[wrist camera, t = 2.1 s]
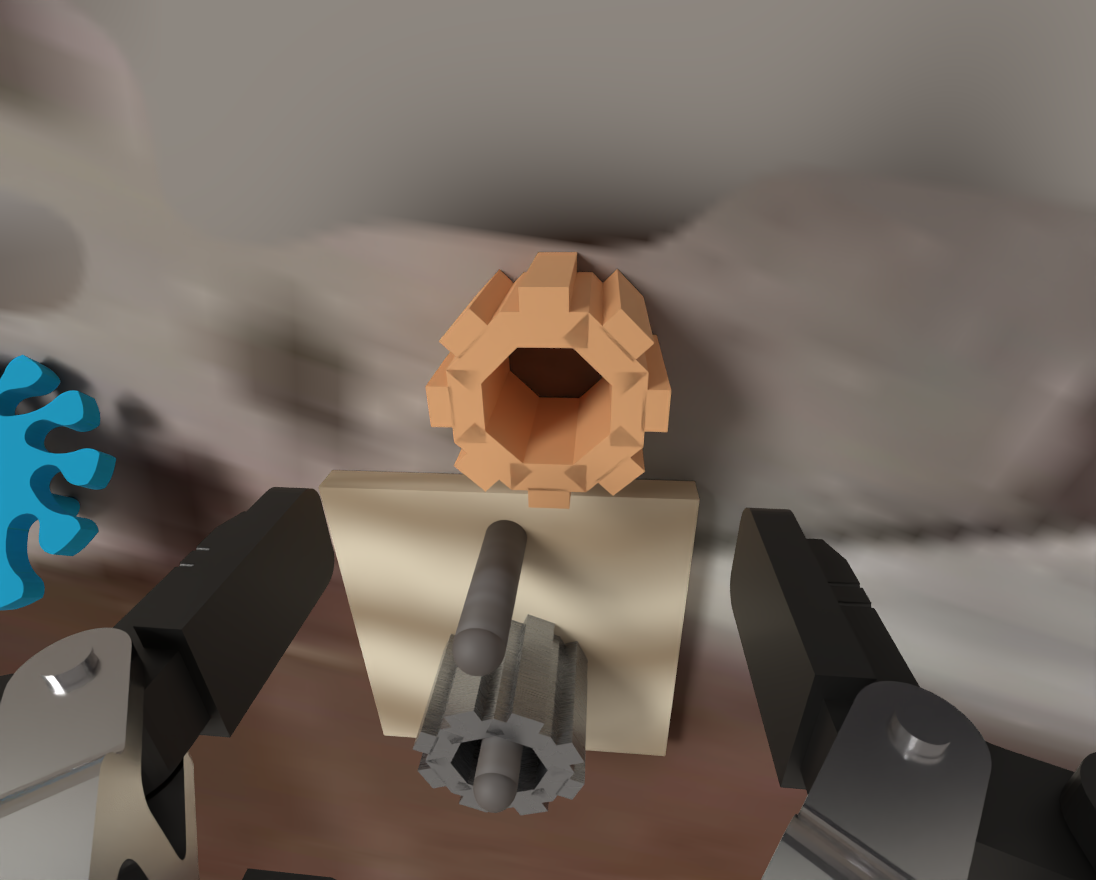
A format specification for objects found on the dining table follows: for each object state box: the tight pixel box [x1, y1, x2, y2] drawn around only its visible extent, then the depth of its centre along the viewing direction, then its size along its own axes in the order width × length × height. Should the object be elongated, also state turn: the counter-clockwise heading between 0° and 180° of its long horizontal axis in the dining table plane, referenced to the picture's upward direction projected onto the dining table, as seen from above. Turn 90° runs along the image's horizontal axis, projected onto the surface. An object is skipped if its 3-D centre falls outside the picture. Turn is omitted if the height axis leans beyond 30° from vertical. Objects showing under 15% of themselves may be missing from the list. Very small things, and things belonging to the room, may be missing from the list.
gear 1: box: [426, 252, 671, 509], centre depth 17 cm, size 6×6×4 cm
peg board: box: [319, 470, 700, 813], centre depth 22 cm, size 15×14×7 cm
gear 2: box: [413, 614, 588, 815], centre depth 23 cm, size 6×6×4 cm
